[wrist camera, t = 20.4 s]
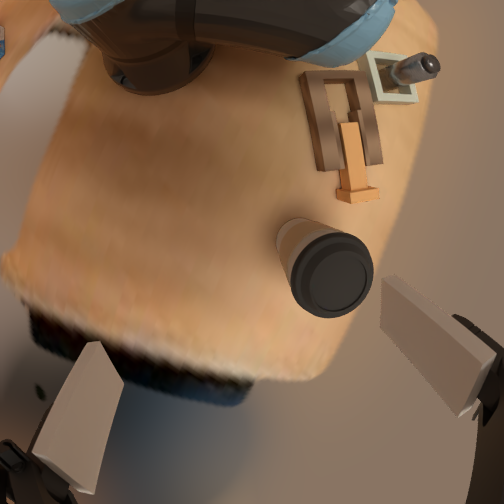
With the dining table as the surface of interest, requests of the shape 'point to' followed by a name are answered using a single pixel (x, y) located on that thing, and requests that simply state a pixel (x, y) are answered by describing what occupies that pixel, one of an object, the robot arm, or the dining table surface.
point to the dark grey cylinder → (409, 71)
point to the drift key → (353, 167)
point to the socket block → (325, 120)
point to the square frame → (378, 97)
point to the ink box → (2, 42)
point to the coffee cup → (324, 267)
